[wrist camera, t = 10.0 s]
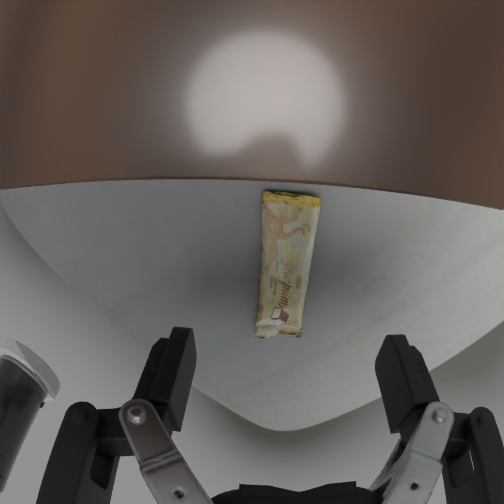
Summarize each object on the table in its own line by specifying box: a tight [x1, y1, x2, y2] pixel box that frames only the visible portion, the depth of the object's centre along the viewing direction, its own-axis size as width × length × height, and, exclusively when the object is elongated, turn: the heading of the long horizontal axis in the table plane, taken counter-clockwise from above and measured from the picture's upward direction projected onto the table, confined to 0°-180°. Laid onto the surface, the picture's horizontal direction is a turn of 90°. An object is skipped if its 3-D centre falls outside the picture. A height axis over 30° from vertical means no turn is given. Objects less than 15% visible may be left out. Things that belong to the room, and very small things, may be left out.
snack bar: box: [254, 191, 321, 338], centre depth 17 cm, size 10×2×3 cm
